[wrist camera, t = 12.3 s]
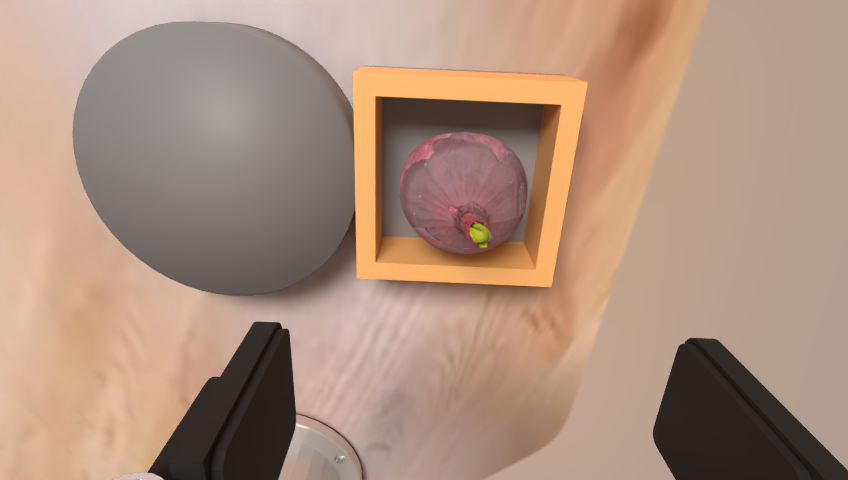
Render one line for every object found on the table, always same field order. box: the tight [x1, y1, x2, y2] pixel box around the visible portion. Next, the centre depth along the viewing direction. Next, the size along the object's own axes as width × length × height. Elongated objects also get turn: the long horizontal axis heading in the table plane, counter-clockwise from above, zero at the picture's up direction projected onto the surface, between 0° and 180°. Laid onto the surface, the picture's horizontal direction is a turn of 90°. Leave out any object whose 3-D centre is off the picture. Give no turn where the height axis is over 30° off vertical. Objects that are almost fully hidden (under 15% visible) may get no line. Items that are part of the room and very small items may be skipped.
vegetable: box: [399, 132, 528, 254], centre depth 22 cm, size 6×6×10 cm
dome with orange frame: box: [73, 21, 588, 296], centre depth 25 cm, size 14×24×4 cm, turn 88°
